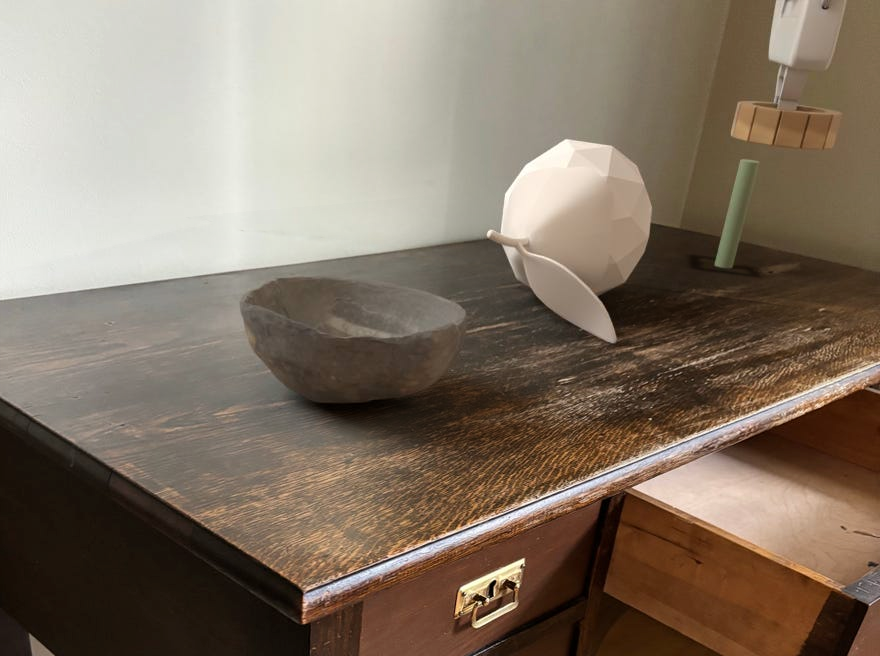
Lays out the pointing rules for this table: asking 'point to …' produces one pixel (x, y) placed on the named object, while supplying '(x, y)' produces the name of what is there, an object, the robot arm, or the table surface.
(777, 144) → the ring
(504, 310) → the table surface
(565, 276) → the pear ornament
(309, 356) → the bowl
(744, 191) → the green post
